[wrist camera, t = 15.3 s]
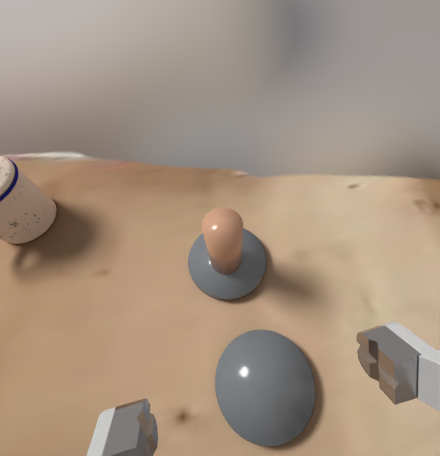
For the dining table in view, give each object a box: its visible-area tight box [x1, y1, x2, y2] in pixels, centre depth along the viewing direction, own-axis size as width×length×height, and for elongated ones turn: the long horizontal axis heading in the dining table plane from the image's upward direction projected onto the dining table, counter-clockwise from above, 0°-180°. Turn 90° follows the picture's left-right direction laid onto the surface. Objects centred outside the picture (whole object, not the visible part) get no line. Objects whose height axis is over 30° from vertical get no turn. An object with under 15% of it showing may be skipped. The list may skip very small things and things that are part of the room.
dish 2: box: [215, 330, 315, 446], centre depth 26 cm, size 10×10×1 cm
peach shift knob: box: [202, 208, 243, 274], centre depth 28 cm, size 4×4×9 cm
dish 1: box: [188, 228, 266, 300], centre depth 33 cm, size 10×10×1 cm
